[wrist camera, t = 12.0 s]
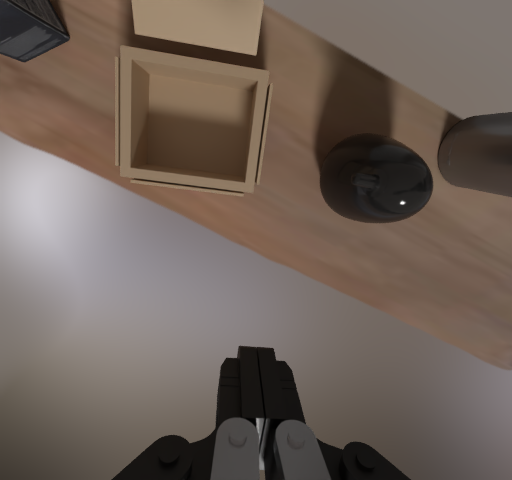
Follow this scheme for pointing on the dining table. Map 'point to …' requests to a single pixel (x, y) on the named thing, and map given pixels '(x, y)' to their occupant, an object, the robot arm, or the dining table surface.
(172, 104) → the carton
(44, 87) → the dining table surface
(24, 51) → the small box
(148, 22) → the flap
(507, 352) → the dining table surface
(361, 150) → the black egg-shaped piece
